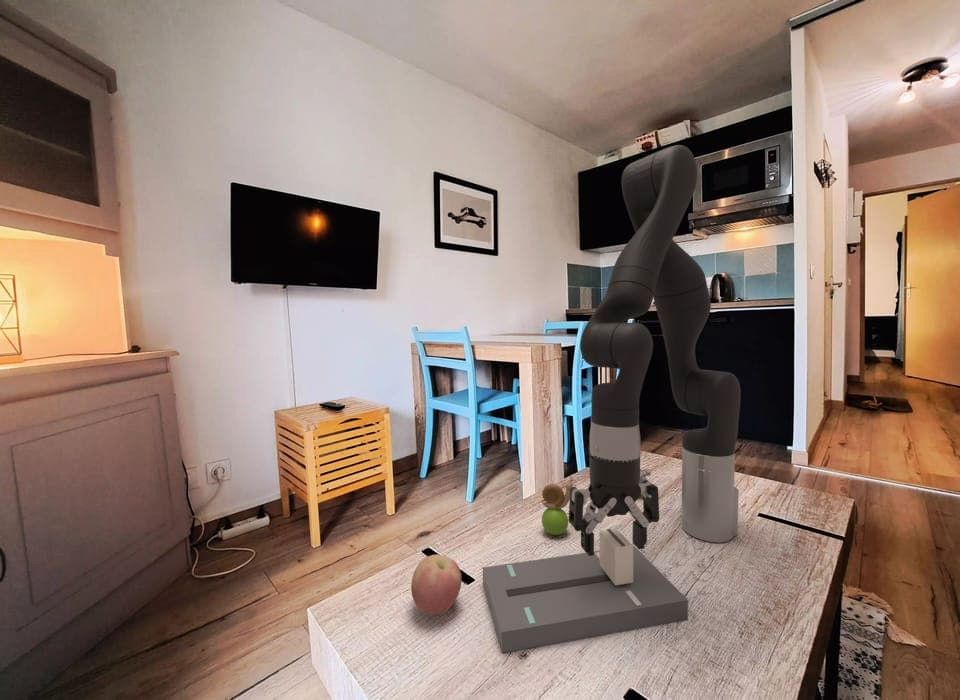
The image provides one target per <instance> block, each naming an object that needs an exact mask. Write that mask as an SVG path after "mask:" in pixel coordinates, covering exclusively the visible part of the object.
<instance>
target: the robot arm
mask: <svg viewBox="0 0 960 700" xmlns="http://www.w3.org/2000/svg"><path fill="white" fill-rule="evenodd" d="M694 156H695V155H694V154H693V152H692V151H691V150H690V149H689V148H688V147H687V146H685V145H681V144H676V145H673V146H668V147H666V148H663V149H661V150H658V151H656V152H654V153H651V154H649V155H647V156H644V157H643V158H639V159H638V160H635V161H633V162H630V164H627V166H626V167H625V168H624V169H623V171H622V174H621V190H622V191H621V192H622V197H623V200H624V203H625V207H626V209H627V213H628V216H629V218H630V221H631V223H632V226H633V229H634V232H635V234H633V236H632V238H630V239H629V241H628V242H627V244H626V245H625V246H624V248H622V249H621V250H622V251H621V252H620V253H619V255H618V257H617V258H616V261H615V263H614V265H613V269H612V272H611V275H610V279H609V281H608V285H607V289H606V293H605V295H604V297H603V298H602V300H601V301H600V302H599V304H598V306H597V307H596V309H595V310H594V312H593V313H592V315H591V317H590V318H589V320H588V322H587V323H586V325H585V327H584V329H583V331H582V334H581V337H580V342H579V344H580V345H579V348H580V354H581V356H582V359H583V360H584V362H585V363H587V364H588V365H589V366H592V367H595V368H608V369H617V370H619V372H618V374H617V377H616V378H615V379H614V381H610V382H602V383H598V384H596V385H595V386H593V388H592V390H591V397H590V398H591V401H590V402H591V411H590V412H591V418H590V419H591V421H590V430H589V481H590V483H589V486H588V487H587V488H586V489H585V488H581V489H578V488H577V487H575V486H573V487H572V488H571V489H570V500H569V502H568V505H569V506H568V524H570V525H571V526H572V527H573V529H574V531H576V532H580V547H581V548H582V550H583V551H584V553H587V554H588V556H593V555H594V552H595V533H594V530H595V529H596V527H597V525H598V524H601V523H602V522H603V520H604V519H605V518H606V517H609V518H610V517H615V516H617V515H619V516H627V513H629V514H630V515H631V517H633V519H634V521H632V545H633V546H635V547H636V548H637V549H638V550H639V551H640V550H645V546H646V545H647V543H648V527H649V524H651V523H653V522H654V523H658V522H659V521H660V506H659V505H660V504H659V503H660V502H659V501H660V500H659V487H658V486H656V485H655V483H653V482H651V481H649V480H648V479H647V480H644V481H643V483H642V484H639V482H640V469H641V432H640V431H641V430H640V397H641V392H642V389H643V384H644V382H645V378H646V374H647V371H648V368H649V365H650V361H651V358H652V356H653V351H654V341H653V338H652V334H651V332H650V330H649V329H648V328H647V327H646V326H645V325H643V324H642V323H639V322H626V321H628V320H631V319H634V318H638V317H640V316H643V315H645V314H646V313H647V312H648V311H649V310H650V309H651V305H652V302H654V306H655V309H656V312H657V317H658V320H659V323H660V328H661V331H662V336H663V340H664V346H665V350H666V354H667V362H668V368H669V369H668V370H669V376H670V377H669V378H670V384H671V391H672V395H673V399H674V401H675V403H676V405H677V407H678V408H679V409H680V410H681V411H682V412H686V413H690V414H693V415H697V416H703V417H708V418H707V424H706V427H703V428H694V429H689V430H687V431H685V432H683V434H682V439H681V440H682V441H681V442H682V445H681V452H682V453H681V519H680V520H681V528H682V529H683V531H684V532H685V533H687V534H688V535H689V536H691V537H693V538H695V539H698V540H702V541H706V542H710V543H726V542H730V541H732V540H733V538H734V537H736V536H738V534H739V533H738V531H739V530H738V529H739V489H738V488H737V487H735V469H736V467H735V465H736V462H735V461H736V460H735V459H736V458H735V457H736V445H737V444H736V443H737V441H738V439H737V438H738V434H739V421H740V420H739V418H740V410H741V398H742V397H741V395H742V393H741V385H740V382H739V379H738V378H737V376H736V375H735V374H733V373H732V372H728V371H718V370H712V369H710V370H709V369H700V367H699V366H698V362H697V359H696V344H697V341H698V339H699V336H700V334H701V333H702V331H703V329H704V326H705V325H706V323H707V320H708V318H709V317H710V312H711V307H712V305H711V304H712V302H711V296H710V292H709V287H708V284H707V283H708V282H707V277H706V274H705V271H704V270H703V269H702V267H701V266H700V265H699V263H698V262H697V261H696V260H695V259H694V258H693V257H692V256H691V255H689V253H688V252H686V250H684V249H683V248H682V247H681V246H680V245H679V244H678V243H677V242H676V241H675V240H674V237H675V236H676V233H677V230H678V229H679V226H680V224H681V222H682V219H683V217H684V216H685V213H686V211H687V209H688V207H689V205H690V203H691V200H692V198H693V195H694V193H695V191H696V186H697V182H698V181H697V180H698V165H697V162H696V158H695V157H694ZM640 496H642V501H643V502H642V504H643V507H642V508H643V511H642V510H641V509H640V508H639V506H638V505H637V501H638V499H639V498H640ZM588 499H590V502H589V503H588V504H587V500H588ZM584 505H586V507H585V511H584ZM597 509H598V511H597ZM596 511H597V512H596Z"/></svg>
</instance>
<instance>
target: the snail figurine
mask: <svg viewBox="0 0 960 700" xmlns="http://www.w3.org/2000/svg"><path fill="white" fill-rule="evenodd" d="M569 481H570V482H568V483H566V484H565V492H564V490H563V489H562V487H560V486H559V485H557V484H548V485H546V486H544V488H543V489H542V493H541V495H542V498H543V500H544V501H542V502H541V503H542V505H543V506H544V507H545V508H546V509H545V510H544V511H543V513H542V515H541V525H542V527H543V528H544V530H545V531H546V532H547V533H548V534H550V535H552V536H559V535H562V534H564V533H565V532H566V531H567V529H568V526H569V521H568V519H569V516H568V514H567V513H566V511H565V510H563V509H564V508H565V507H566V506H567V505H569V502H570V489H571V488H572V487H574V486H573V483H572V482H573V477H569Z"/></svg>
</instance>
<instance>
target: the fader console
mask: <svg viewBox="0 0 960 700" xmlns="http://www.w3.org/2000/svg"><path fill="white" fill-rule="evenodd" d="M482 584H483V585H482V586H483V589H484V593H485V595H486V600H487V604H488V606H489V610H490V611H489V612H490V614H491V618H492V621H493V626H494V628H495V631H496V632H495V633H496V635H497V639H498V643H499V647H500V651H501V653H502V654H506V653H511V652H516V651H522V650H527V649H533V648H537V647H544V646H549V645H554V644H561V643H565V642H571V641H575V640H576V641H577V640H582V639H588V638H592V637H598V636H603V635H610V634H614V633H615V634H616V633H621V632H626V631H631V630H637V629H641V628H642V629H643V628H648V627H653V626H659V625H663V624H670V623H675V622H680V621H686V620H689V618H688V617H689V599H688V598H687V597H686V596H685V595H684V594H683V593H682V592H681V591H680V590H679V589H678V588H677V587H676V586H675V585H674V584H673V583H672V581H670V580H669V579H668V578H667V577H666V575H664V574H663V573H662V572H661V571H660V570H659V569H658V568H657V567H656V566H655V565H654V563H652V562H651V561H650V560H649V559H648V558H647V557H646V556H645V555H644V554H643V553H642V552H641V551H640V550H639V549H638V548H637V547H636V546H635V545H633V583H627V584H621V585H615V584H614V583H613V582H612V580H611V579H610V578H609V577H608V575H607V574H606V573H605V571H604V570H603V569H602V568H601V566H600V550H596V551H595V550H594V555H593V556H588V554H587V553H586V552H582V553H575V554H568V555H560V556H554V557H553V556H552V557H547V558H540V559H533V560H526V561H525V560H524V561H518V562H512V563H506V564H503V563H502V564H498V565H497V564H496V565H490V566H485V567H482Z"/></svg>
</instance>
